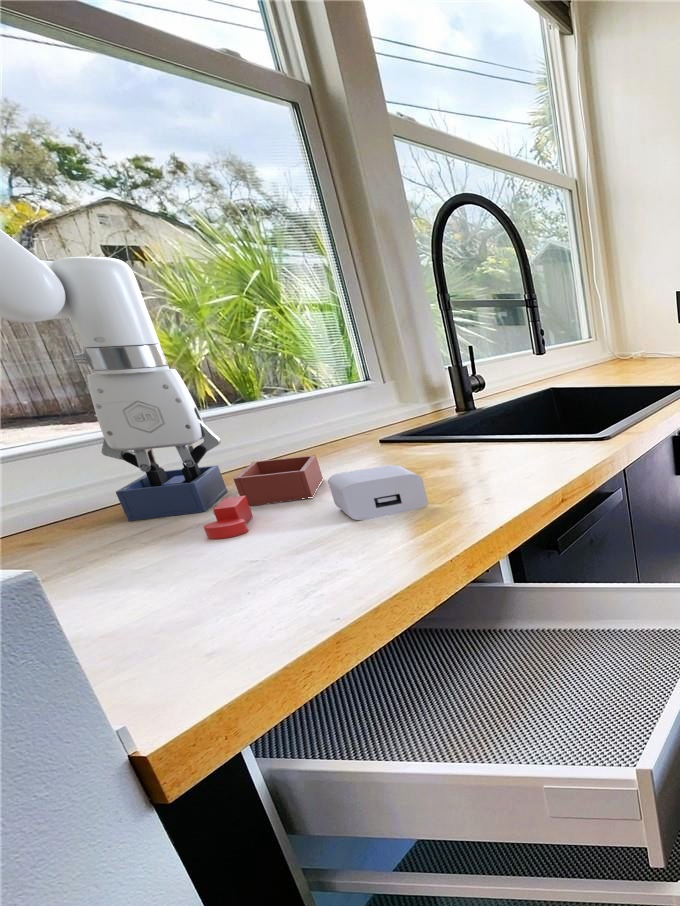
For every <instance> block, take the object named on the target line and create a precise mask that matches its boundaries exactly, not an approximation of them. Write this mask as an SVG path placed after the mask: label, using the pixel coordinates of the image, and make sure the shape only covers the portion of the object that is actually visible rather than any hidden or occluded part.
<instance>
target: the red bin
mask: <svg viewBox="0 0 680 906" xmlns="http://www.w3.org/2000/svg"><path fill="white" fill-rule="evenodd" d="M322 479H323V480H324V477H323V474H322V471H321V468H320V465H319V461H318V458H317V455H315V454H314V455H305V456H295V457H285V458H276V459H267V460H256V461H252V462H251V463H249V464H248V465H247V466H246V467H245V468H244V469H242V470H241V472H239V473H238V474H237V475H236V476H234V477H233V482H234V485H235V487H236V490H237V493H238V495H239V496H246V499H247V501H248V504H249V507H253V506H252V505H255V506H261V505H260V504H263V505H268V504H267V503H271V504H275V503H274V502H279V503H281V502H280V501H287V502H290V501H289V500H295V499H302V498H308V497H313V495H314V493H315V491H316V489H317V488H318V486H319V484H320V482H321V481H322ZM318 489H319V488H318ZM314 496H315V495H314ZM313 498H314V497H313ZM295 501H296V500H295Z"/></svg>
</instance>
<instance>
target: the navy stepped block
mask: <svg viewBox="0 0 680 906" xmlns="http://www.w3.org/2000/svg"><path fill="white" fill-rule="evenodd" d="M183 483H186V480H185V478H184V475H182V476H174V477H173V478H171V479H170V480H168V481H167V482H165V483H164V484H162V485H161V486H165V485H174V484H183Z"/></svg>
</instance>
